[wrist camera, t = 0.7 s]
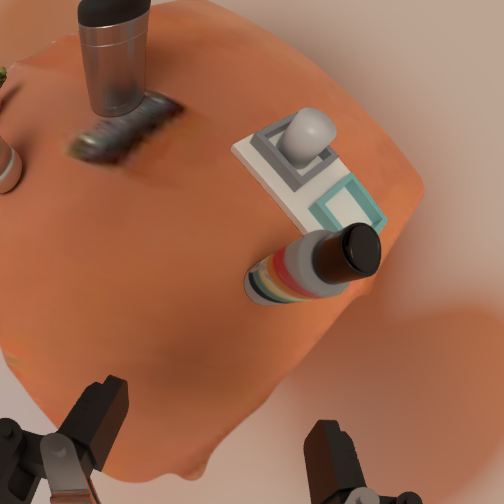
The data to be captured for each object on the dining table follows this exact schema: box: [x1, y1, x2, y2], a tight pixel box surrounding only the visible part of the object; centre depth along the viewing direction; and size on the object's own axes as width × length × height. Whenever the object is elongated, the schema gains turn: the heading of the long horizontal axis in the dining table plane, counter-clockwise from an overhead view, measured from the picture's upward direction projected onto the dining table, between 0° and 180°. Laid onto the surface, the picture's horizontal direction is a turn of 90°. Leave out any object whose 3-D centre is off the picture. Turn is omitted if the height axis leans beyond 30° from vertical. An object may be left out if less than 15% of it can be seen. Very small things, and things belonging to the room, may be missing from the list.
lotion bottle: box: [244, 222, 381, 306], centre depth 26 cm, size 6×6×20 cm
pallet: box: [230, 107, 388, 236], centre depth 37 cm, size 25×15×10 cm, turn 43°
